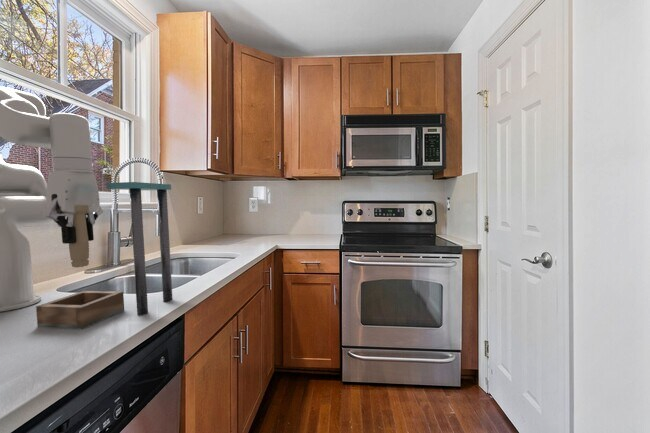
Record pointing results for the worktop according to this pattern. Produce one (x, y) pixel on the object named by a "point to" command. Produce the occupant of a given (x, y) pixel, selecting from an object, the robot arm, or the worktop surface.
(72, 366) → the worktop surface
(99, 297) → the socket
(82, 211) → the handle
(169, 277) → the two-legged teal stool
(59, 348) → the worktop surface
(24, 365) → the worktop surface
